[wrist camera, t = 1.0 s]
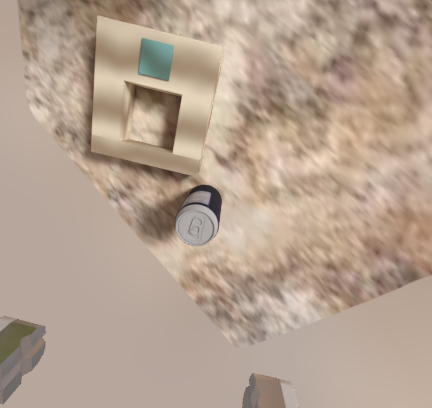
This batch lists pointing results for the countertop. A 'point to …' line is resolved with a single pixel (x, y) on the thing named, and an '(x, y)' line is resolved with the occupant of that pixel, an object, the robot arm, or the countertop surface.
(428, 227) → the countertop surface
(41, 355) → the robot arm
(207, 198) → the beverage can
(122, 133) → the socket board
